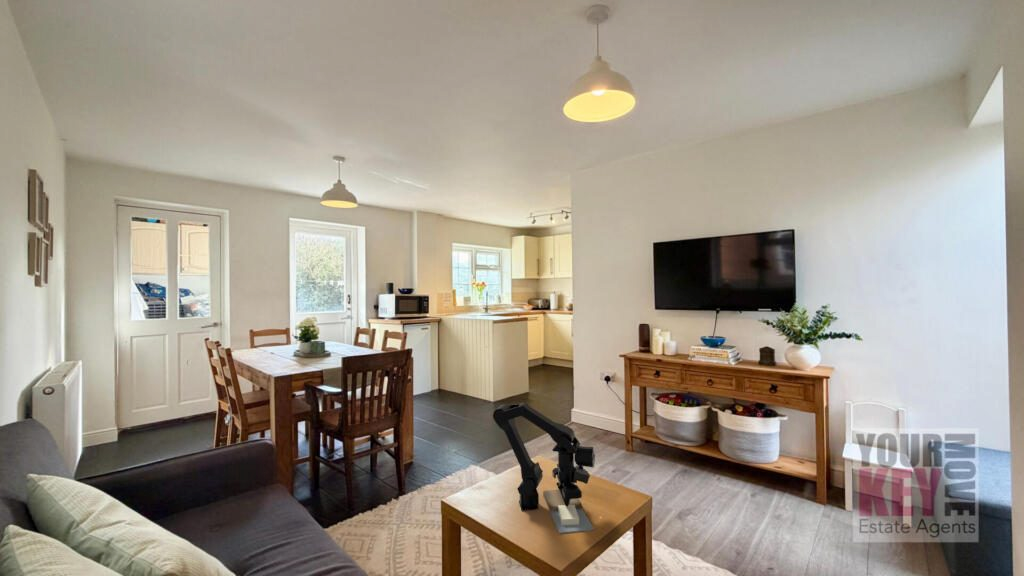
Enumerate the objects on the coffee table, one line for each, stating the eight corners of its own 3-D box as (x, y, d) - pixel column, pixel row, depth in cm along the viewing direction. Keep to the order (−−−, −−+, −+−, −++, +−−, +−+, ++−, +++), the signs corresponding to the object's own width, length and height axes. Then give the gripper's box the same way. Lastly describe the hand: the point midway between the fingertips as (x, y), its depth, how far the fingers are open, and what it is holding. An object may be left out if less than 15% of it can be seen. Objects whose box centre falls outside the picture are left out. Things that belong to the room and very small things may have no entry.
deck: (550, 512, 154) (550, 507, 154) (543, 495, 166) (543, 490, 166) (581, 509, 156) (581, 504, 156) (572, 493, 168) (572, 488, 168)
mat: (559, 533, 141) (559, 532, 141) (550, 512, 154) (550, 511, 154) (593, 530, 143) (593, 528, 143) (582, 509, 156) (582, 508, 156)
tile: (561, 525, 145) (561, 519, 145) (558, 510, 154) (558, 505, 154) (579, 524, 146) (579, 518, 146) (574, 510, 155) (574, 504, 155)
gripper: (595, 473, 146) (596, 517, 146) (579, 451, 164) (580, 490, 164) (564, 475, 144) (565, 520, 144) (551, 453, 162) (552, 493, 163)
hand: (566, 505), depth 154 cm, fingers closed
